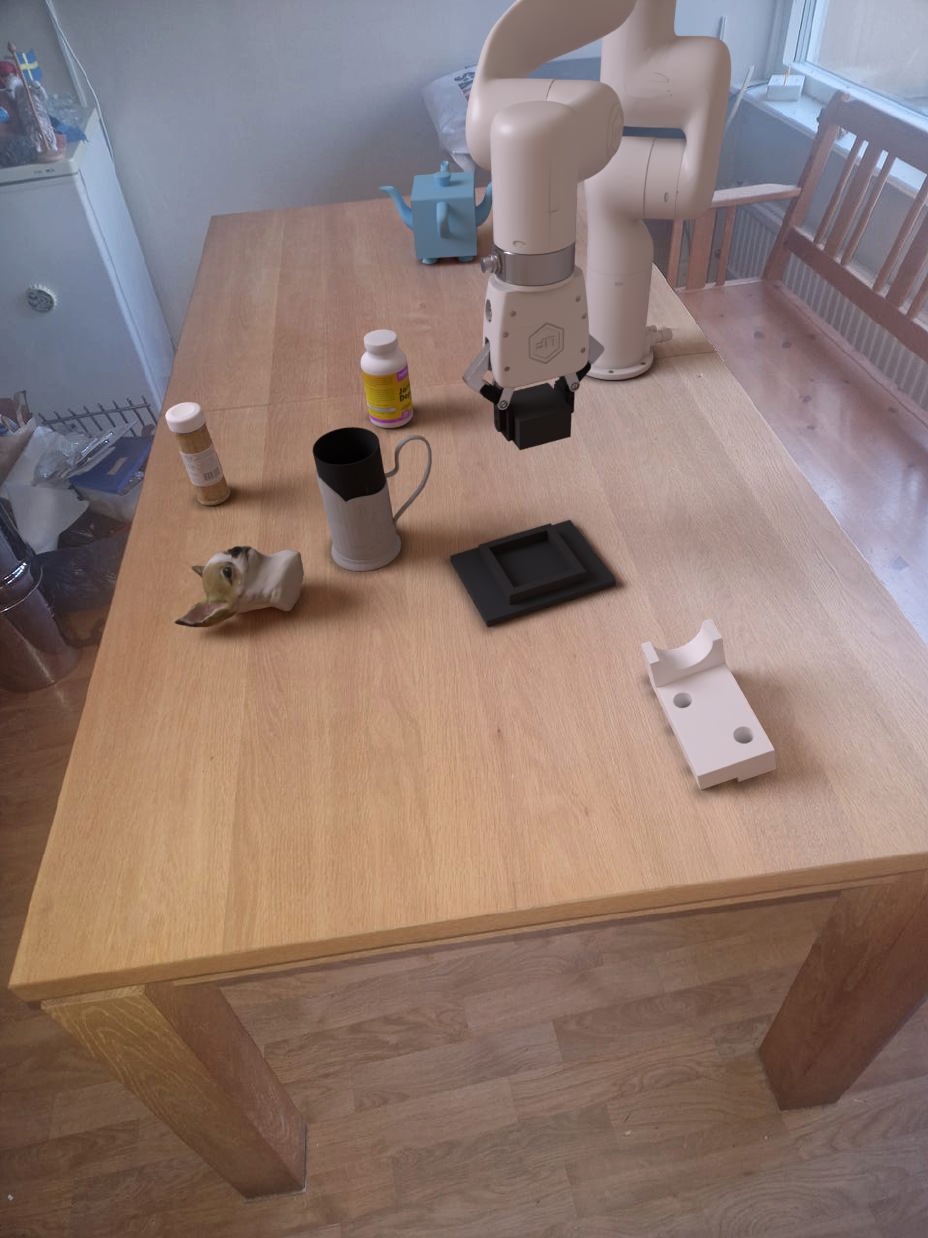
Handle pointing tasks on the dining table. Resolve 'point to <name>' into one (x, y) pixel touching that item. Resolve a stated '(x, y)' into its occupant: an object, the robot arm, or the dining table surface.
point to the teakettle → (443, 214)
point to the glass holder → (360, 497)
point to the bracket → (708, 710)
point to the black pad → (539, 416)
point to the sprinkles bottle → (198, 452)
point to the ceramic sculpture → (245, 584)
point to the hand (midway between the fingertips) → (534, 425)
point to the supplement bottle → (386, 380)
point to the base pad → (530, 571)
